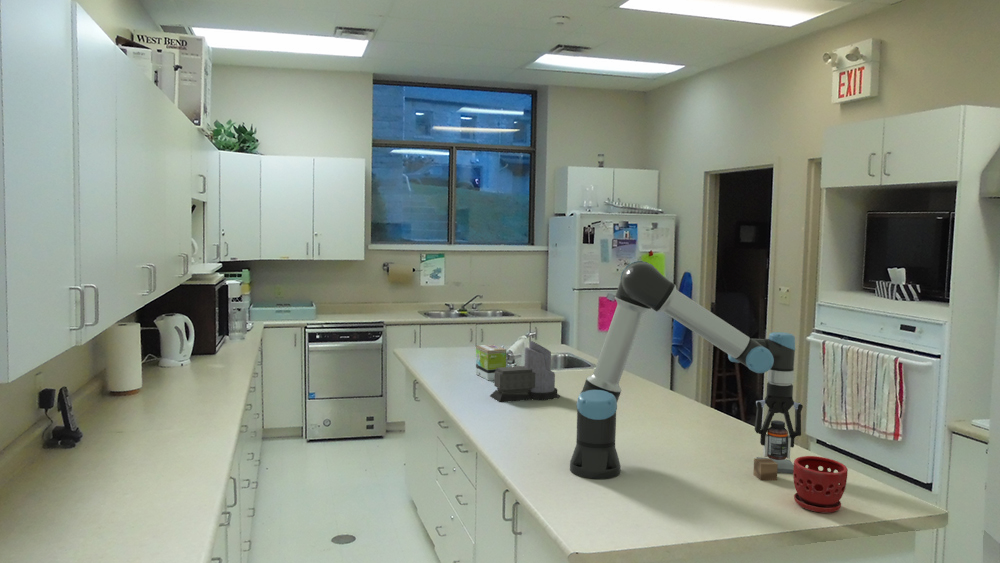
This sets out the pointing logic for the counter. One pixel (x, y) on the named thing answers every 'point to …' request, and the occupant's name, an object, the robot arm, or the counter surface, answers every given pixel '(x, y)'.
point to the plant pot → (819, 483)
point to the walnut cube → (765, 469)
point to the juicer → (527, 378)
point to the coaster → (783, 465)
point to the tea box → (489, 360)
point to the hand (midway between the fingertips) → (776, 456)
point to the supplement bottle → (777, 440)
